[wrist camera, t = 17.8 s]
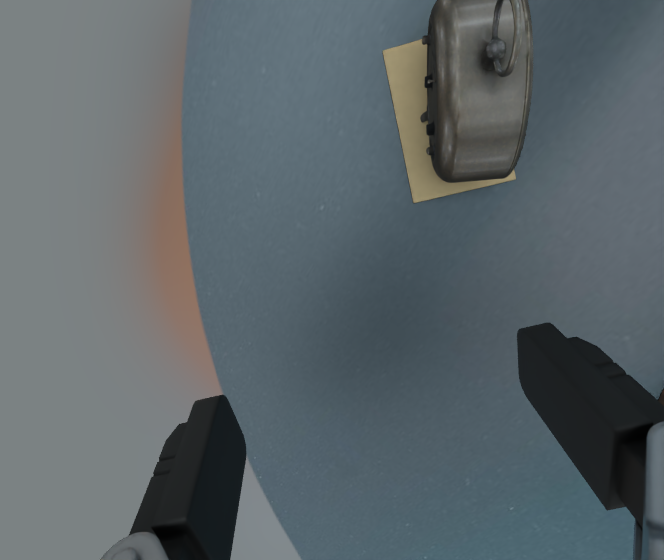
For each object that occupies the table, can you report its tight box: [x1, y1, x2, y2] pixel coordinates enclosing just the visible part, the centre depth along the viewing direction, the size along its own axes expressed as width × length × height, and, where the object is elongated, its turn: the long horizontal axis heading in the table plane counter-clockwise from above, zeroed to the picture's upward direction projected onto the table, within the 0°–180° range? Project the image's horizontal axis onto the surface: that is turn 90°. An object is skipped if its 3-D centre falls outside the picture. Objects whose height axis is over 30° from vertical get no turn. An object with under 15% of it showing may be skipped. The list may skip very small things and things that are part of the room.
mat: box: [383, 39, 516, 203], centre depth 32 cm, size 8×12×1 cm, turn 13°
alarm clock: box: [420, 0, 533, 183], centre depth 24 cm, size 11×5×16 cm, turn 4°
